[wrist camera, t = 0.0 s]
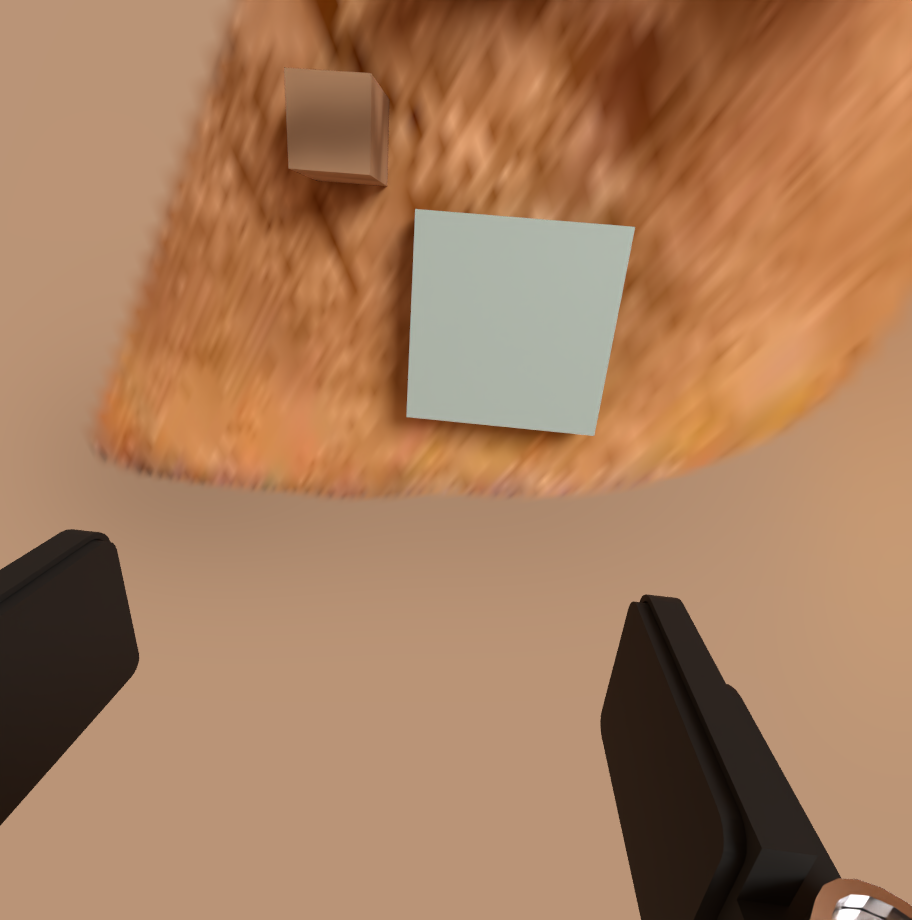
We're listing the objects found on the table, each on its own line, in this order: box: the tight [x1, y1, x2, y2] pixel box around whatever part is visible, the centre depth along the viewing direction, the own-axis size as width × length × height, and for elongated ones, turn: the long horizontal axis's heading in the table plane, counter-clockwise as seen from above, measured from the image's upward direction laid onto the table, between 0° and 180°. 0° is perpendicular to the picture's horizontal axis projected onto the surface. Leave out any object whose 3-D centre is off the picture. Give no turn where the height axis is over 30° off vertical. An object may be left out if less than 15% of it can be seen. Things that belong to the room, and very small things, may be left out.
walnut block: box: [284, 67, 389, 186], centre depth 31 cm, size 5×5×5 cm
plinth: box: [406, 209, 635, 436], centre depth 36 cm, size 14×14×3 cm
